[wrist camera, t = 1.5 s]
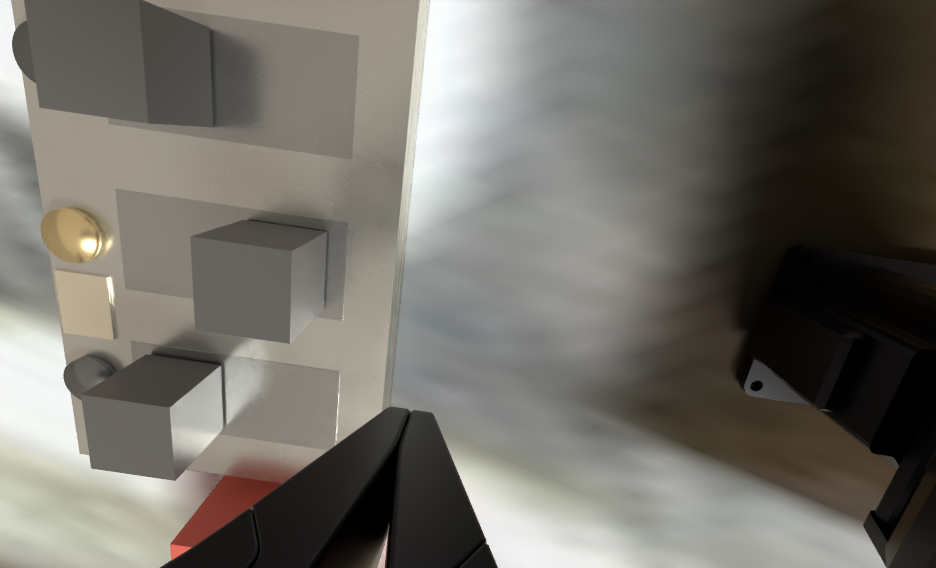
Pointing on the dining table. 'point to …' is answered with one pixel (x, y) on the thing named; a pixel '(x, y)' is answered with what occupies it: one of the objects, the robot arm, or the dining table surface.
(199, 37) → the block
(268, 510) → the robot arm
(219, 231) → the grey cube
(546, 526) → the dining table surface
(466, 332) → the dining table surface
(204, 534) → the cap
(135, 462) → the block
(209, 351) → the panel
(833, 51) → the dining table surface
